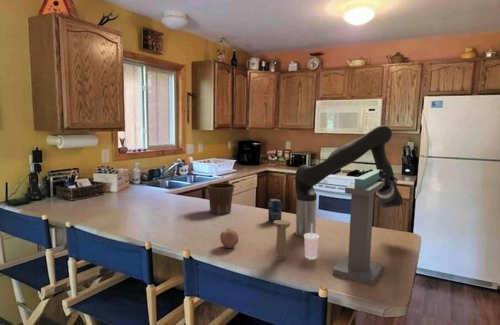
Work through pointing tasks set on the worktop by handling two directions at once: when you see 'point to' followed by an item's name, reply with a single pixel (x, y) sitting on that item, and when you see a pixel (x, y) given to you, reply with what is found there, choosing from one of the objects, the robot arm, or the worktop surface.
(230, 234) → the apple
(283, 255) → the handle
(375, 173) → the teal bar
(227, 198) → the plant pot
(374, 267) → the gray stand
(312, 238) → the beverage cup
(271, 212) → the soda can
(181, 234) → the worktop surface
